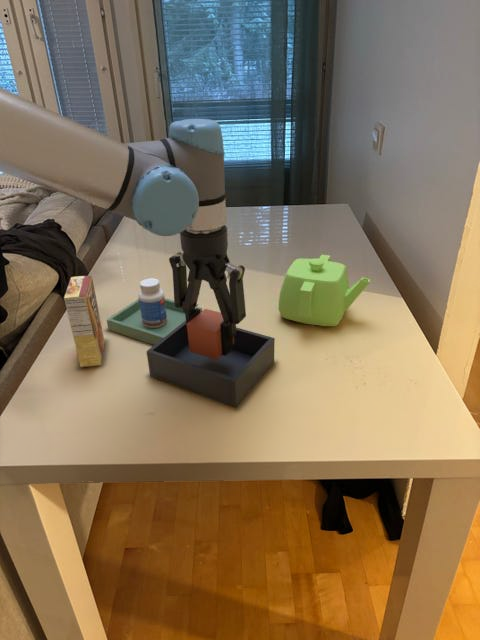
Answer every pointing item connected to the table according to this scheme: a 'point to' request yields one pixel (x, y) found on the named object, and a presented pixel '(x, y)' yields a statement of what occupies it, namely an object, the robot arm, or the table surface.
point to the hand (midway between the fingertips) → (212, 346)
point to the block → (206, 334)
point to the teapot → (317, 291)
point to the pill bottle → (152, 303)
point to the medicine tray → (132, 325)
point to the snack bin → (212, 365)
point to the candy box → (85, 320)
